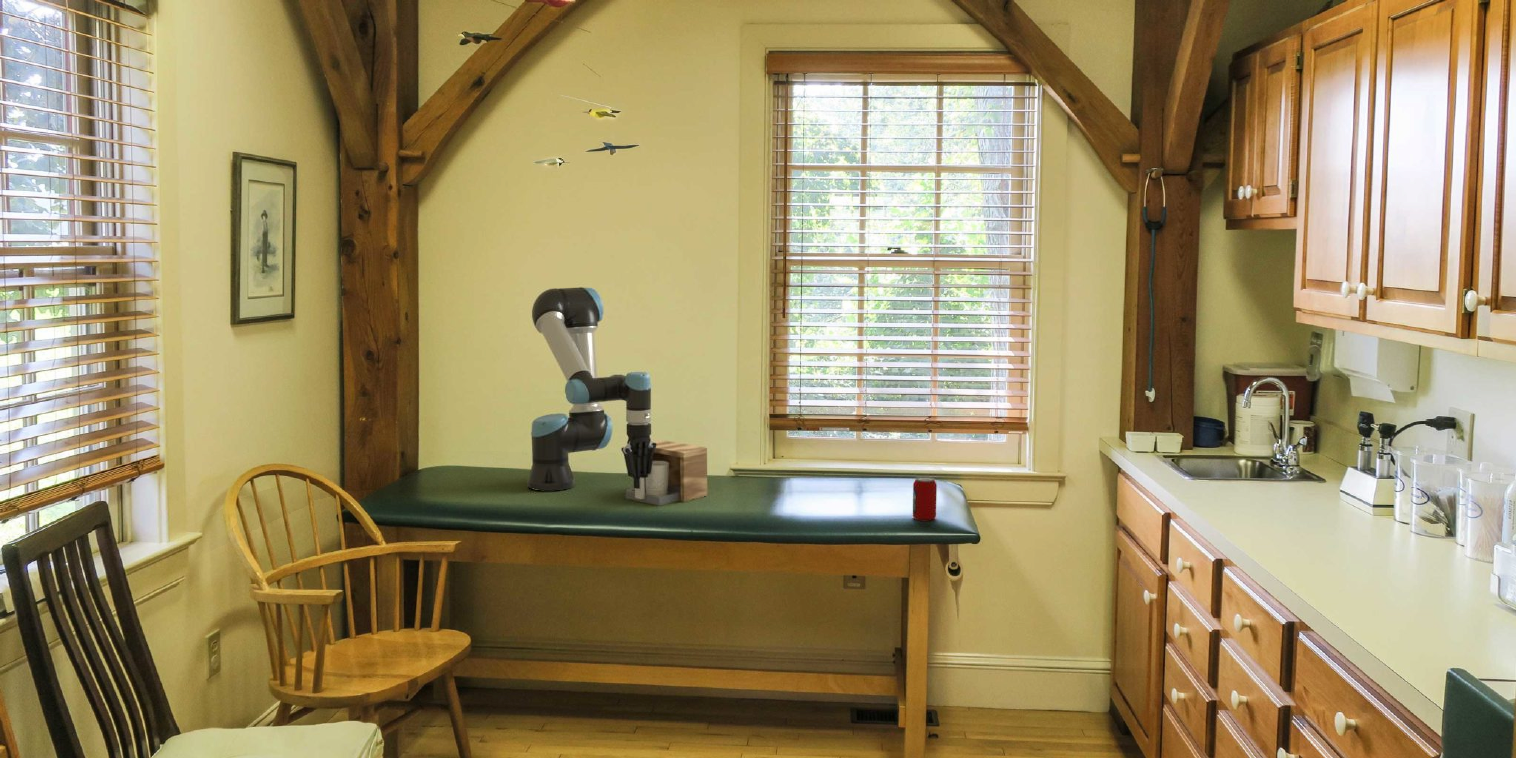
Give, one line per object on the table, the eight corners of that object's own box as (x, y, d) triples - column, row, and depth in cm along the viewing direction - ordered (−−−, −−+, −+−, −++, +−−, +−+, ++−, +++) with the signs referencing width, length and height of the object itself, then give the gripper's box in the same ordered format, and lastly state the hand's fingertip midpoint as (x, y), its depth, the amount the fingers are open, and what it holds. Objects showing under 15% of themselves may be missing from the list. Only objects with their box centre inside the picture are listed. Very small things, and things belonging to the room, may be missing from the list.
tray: (625, 498, 362) (625, 490, 362) (659, 489, 374) (659, 482, 373) (659, 505, 353) (659, 497, 352) (693, 496, 364) (693, 489, 364)
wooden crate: (639, 492, 370) (638, 444, 368) (662, 486, 378) (662, 440, 376) (684, 502, 357) (683, 452, 355) (707, 496, 365) (707, 447, 363)
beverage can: (919, 514, 342) (919, 475, 340) (939, 518, 338) (940, 477, 336) (908, 519, 336) (909, 479, 335) (929, 523, 332) (930, 482, 331)
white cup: (666, 497, 359) (666, 466, 357) (641, 496, 360) (641, 465, 358) (671, 491, 366) (671, 461, 365) (647, 491, 367) (646, 460, 366)
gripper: (631, 427, 346) (632, 503, 349) (662, 421, 356) (663, 496, 359) (614, 424, 351) (615, 500, 354) (645, 418, 361) (646, 492, 364)
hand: (639, 498), depth 356 cm, fingers closed
